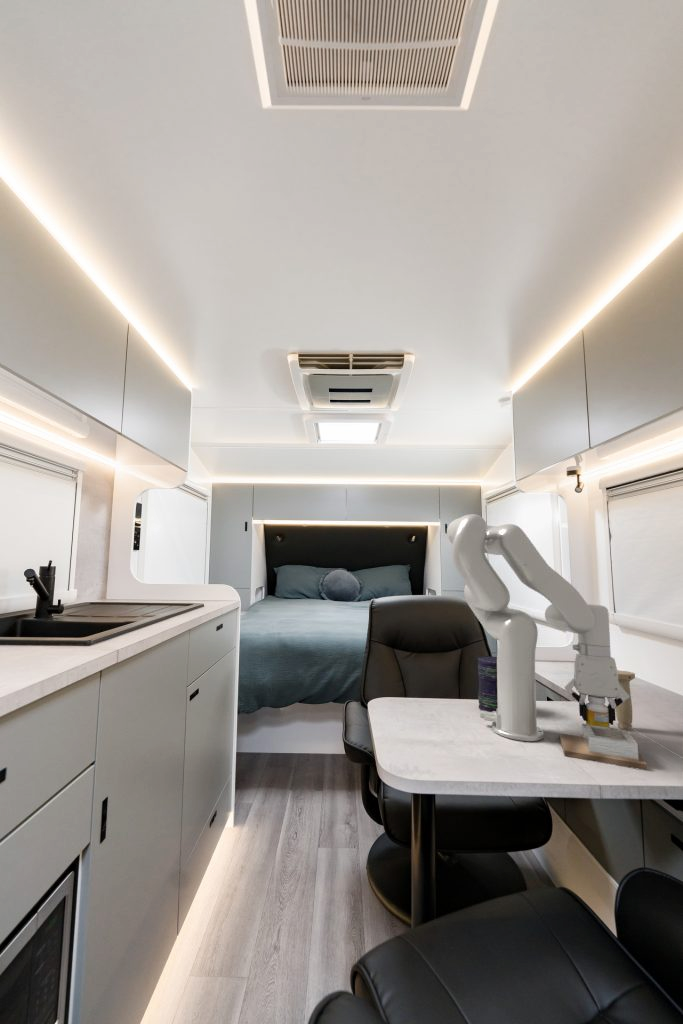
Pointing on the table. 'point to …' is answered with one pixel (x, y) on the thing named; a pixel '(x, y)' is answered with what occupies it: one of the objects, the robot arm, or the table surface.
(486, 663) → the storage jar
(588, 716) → the supplement bottle
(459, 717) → the table surface
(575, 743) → the mount plate
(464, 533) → the robot arm
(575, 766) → the table surface
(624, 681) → the handle
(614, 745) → the socket
